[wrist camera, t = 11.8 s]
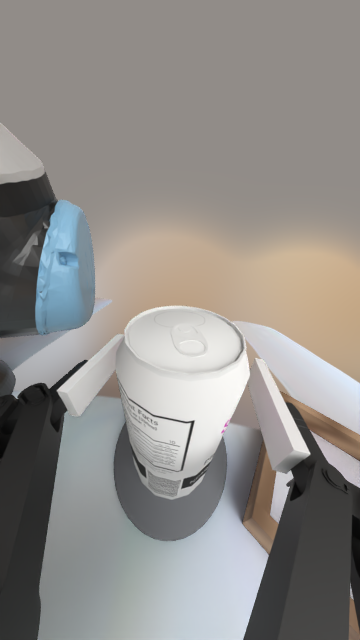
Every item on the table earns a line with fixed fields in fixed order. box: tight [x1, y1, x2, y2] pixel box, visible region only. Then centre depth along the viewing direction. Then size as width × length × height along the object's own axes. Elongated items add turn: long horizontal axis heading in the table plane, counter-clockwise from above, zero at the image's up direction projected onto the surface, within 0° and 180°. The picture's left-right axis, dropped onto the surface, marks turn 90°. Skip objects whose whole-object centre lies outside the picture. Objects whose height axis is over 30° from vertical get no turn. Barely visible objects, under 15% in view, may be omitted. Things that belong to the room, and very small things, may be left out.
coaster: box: [114, 422, 227, 541], centre depth 16 cm, size 12×12×1 cm
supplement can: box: [116, 306, 250, 500], centre depth 12 cm, size 8×8×15 cm
